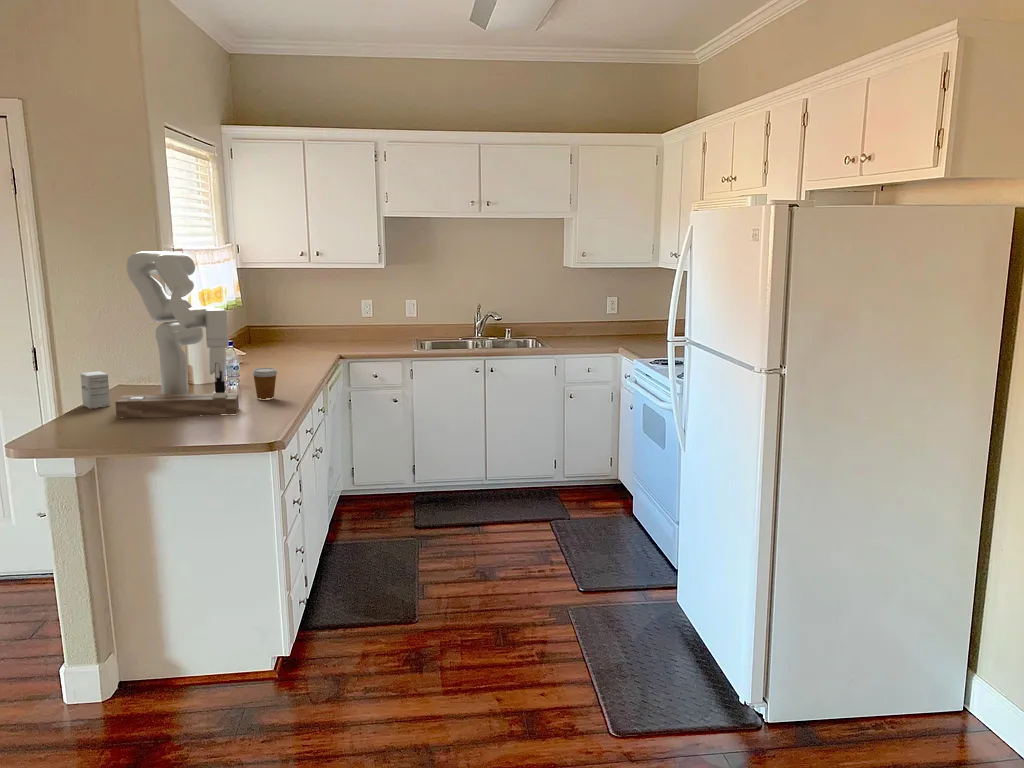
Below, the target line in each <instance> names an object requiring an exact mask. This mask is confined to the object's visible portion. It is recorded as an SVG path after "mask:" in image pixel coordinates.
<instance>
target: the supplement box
mask: <svg viewBox="0 0 1024 768" xmlns="http://www.w3.org/2000/svg"><path fill="white" fill-rule="evenodd" d="M80 385H81V398H82V406H84V407H86V408H87V409H90V410H93V409H92V408H94V409H99V408H98V407H102V408H107V407H106V406H109V407H110V406H111V403H110V402H111V399H110V385H109V374H108V373H106V372H103V371H99V370H98V371H90V372H89V371H88V372H80Z"/></svg>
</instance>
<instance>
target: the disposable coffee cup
mask: <svg viewBox="0 0 1024 768" xmlns="http://www.w3.org/2000/svg"><path fill="white" fill-rule="evenodd" d="M277 374H278V371H277V369H276V368H272V367H261V368H255V369H253V371H252V377H253V380H254V387H255V393H256V398H261V399H266V398H272V397H274V398H275V391H276V390H275V389H276V379H277Z"/></svg>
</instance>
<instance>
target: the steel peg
mask: <svg viewBox="0 0 1024 768" xmlns="http://www.w3.org/2000/svg"><path fill="white" fill-rule="evenodd" d="M144 398H145V397H131V398H130V399H129V400H143V399H144Z"/></svg>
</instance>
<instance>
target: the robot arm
mask: <svg viewBox="0 0 1024 768" xmlns="http://www.w3.org/2000/svg"><path fill="white" fill-rule="evenodd" d="M195 270H196V262H195V260H194V259H193V258H192V257H191V256H190V255H189V254H187V253H180V252H171V251H138V252H134V253H131V254H130V255H129V257H127V259H126V272H127V275H128V277H129V280H130V281H131V284H133V286H134V288H135V289H136V290H137V292H138V294H139V296H140V297H141V300H142V301H143V304H144V306H145V308H146V310H147V312H148V314H149V316H150V318H151V319H152V320H153V321H154V322H157V323H161V324H158V325H157V327H156V329H155V332H154V334H155V339H156V343H157V347H158V355H159V366H160V367H159V368H160V386H161V395H162V394H190V393H189V374H188V373H189V372H188V358H187V355H186V353H185V351H184V349H182V348H183V346H188V345H190V346H191V345H197V344H199V343H201V341H202V340H203V337H204V331H203V328H205V335H206V336H205V337H206V338H205V339H206V348H208V349H209V374H210V375H211V376H212V375H214V389H215V390H214V391H215V392H216V393H224V392H225V391H226V385H225V376H224V375H225V373H226V370H227V349H226V348H229V346H230V345H229V344H230V343H229V341H230V340H229V324H228V323H229V322H228V311H227V310H226V309H224V308H214V307H212V306H211V307H210V306H203V307H202V306H200V307H198V306H197V307H193V306H192V304H191V302H190V301H189V299H187V298H185V297H186V296H187V295H190V293H191V292H193V290H194V287H195V284H194V283H195V282H193V280H192V279H191V277H190V276H191V275H193V274H194V273H195ZM152 275H160V277H161V279H162V280H163V282H164V283H165V285H166V287H167V288H168V289H169V290H170V292H171V295H170V296H169V295H168V294H167V293H166V292H165V289H164V287H163V285H162V283H160V282H159V281H158V280H157V279H155V278H154V277H153V276H152Z"/></svg>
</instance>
